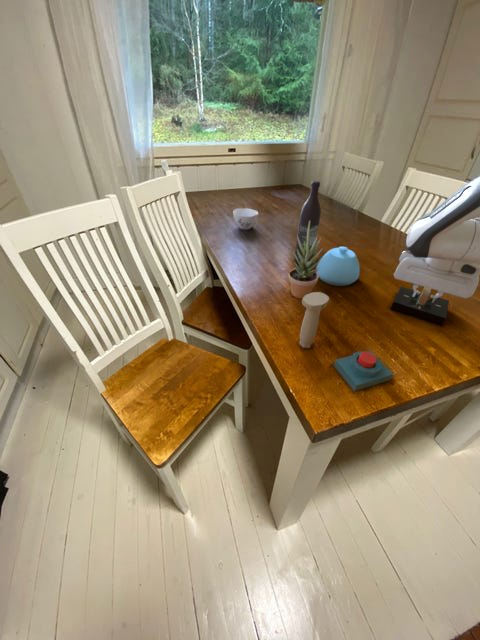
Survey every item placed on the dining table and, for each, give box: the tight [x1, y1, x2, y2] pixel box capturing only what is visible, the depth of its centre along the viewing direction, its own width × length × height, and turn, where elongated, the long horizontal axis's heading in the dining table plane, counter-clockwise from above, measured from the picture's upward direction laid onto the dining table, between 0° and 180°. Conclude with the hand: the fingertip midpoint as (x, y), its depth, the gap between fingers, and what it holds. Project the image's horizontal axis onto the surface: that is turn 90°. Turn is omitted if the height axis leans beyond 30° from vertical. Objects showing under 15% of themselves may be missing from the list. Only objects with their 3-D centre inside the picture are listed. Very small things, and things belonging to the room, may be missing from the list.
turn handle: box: [417, 287, 432, 306], centre depth 83 cm, size 6×2×4 cm, turn 145°
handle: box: [299, 291, 330, 349], centre depth 68 cm, size 5×6×15 cm
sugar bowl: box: [315, 246, 361, 287], centre depth 97 cm, size 15×15×12 cm
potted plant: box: [288, 221, 325, 299], centre depth 84 cm, size 10×10×25 cm
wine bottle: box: [293, 180, 322, 267], centre depth 100 cm, size 7×7×30 cm
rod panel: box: [390, 286, 450, 327], centre depth 85 cm, size 14×11×3 cm
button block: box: [333, 350, 394, 392], centre depth 64 cm, size 10×8×4 cm
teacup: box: [232, 207, 259, 230], centre depth 138 cm, size 15×12×8 cm
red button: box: [358, 351, 377, 368], centre depth 63 cm, size 4×4×2 cm
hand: (422, 299), depth 84 cm, fingers open, 3 cm apart
